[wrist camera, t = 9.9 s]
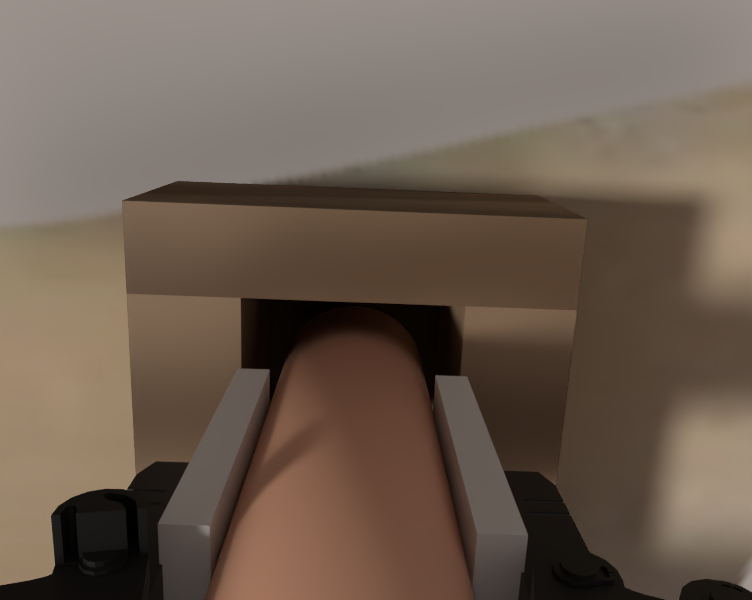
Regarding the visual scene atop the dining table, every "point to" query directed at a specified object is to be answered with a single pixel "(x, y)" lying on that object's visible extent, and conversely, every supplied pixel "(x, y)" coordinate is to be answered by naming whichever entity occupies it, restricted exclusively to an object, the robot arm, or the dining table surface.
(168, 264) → the socket
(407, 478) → the peg
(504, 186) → the dining table surface
